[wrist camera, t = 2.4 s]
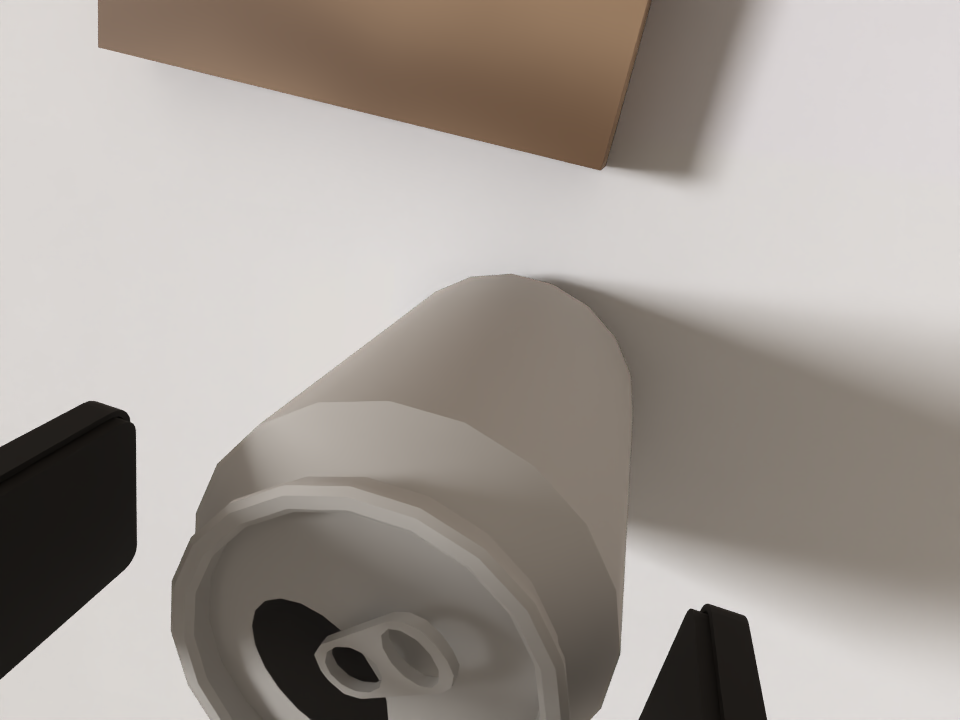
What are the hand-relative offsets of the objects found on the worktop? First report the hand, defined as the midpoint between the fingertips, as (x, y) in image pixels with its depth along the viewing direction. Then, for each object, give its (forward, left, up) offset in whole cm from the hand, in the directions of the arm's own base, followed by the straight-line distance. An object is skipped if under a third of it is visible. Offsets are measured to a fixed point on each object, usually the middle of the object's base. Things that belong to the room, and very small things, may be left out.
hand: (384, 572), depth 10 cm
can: (-1, 0, -11) cm, 11 cm away
